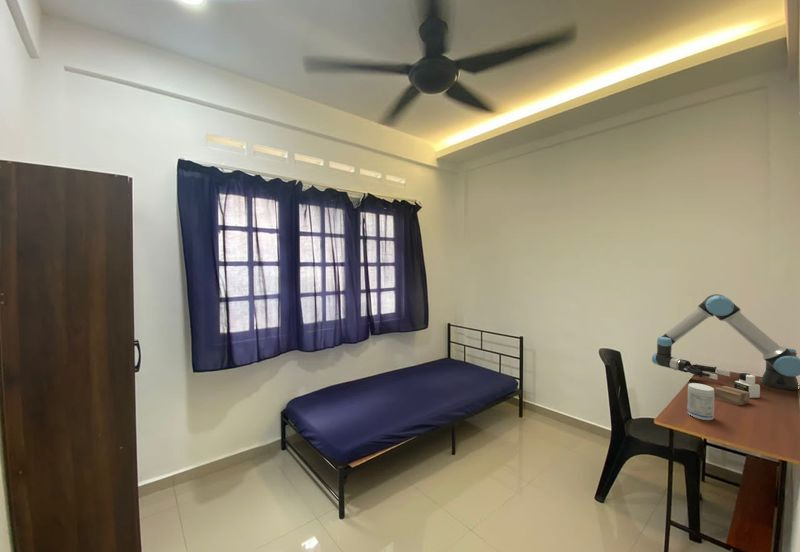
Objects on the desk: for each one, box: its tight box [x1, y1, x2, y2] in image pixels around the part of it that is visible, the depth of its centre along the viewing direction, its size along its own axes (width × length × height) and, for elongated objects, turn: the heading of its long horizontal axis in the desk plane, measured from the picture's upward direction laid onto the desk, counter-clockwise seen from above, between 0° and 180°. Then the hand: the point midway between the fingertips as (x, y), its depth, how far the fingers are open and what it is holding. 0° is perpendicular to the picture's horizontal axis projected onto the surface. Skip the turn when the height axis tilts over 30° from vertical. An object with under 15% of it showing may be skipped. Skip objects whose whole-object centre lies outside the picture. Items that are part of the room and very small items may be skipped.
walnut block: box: [714, 385, 750, 407], centre depth 175 cm, size 10×10×6 cm
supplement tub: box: [686, 382, 715, 421], centre depth 157 cm, size 10×10×15 cm
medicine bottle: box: [733, 372, 761, 399], centre depth 181 cm, size 7×7×12 cm
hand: (723, 375), depth 190 cm, fingers open, 13 cm apart
